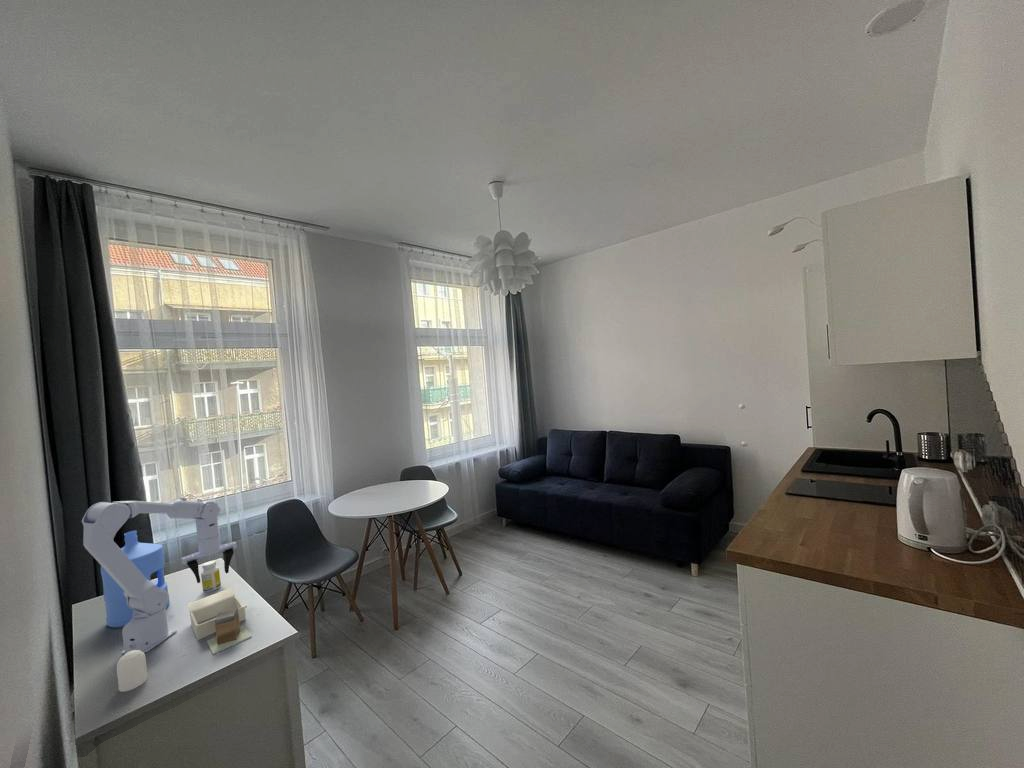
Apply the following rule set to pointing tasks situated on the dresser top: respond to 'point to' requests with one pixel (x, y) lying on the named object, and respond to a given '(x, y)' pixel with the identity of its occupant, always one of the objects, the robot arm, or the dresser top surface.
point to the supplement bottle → (210, 576)
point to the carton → (213, 611)
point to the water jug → (147, 562)
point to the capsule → (131, 670)
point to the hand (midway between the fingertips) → (213, 577)
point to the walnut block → (227, 626)
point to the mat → (241, 637)
